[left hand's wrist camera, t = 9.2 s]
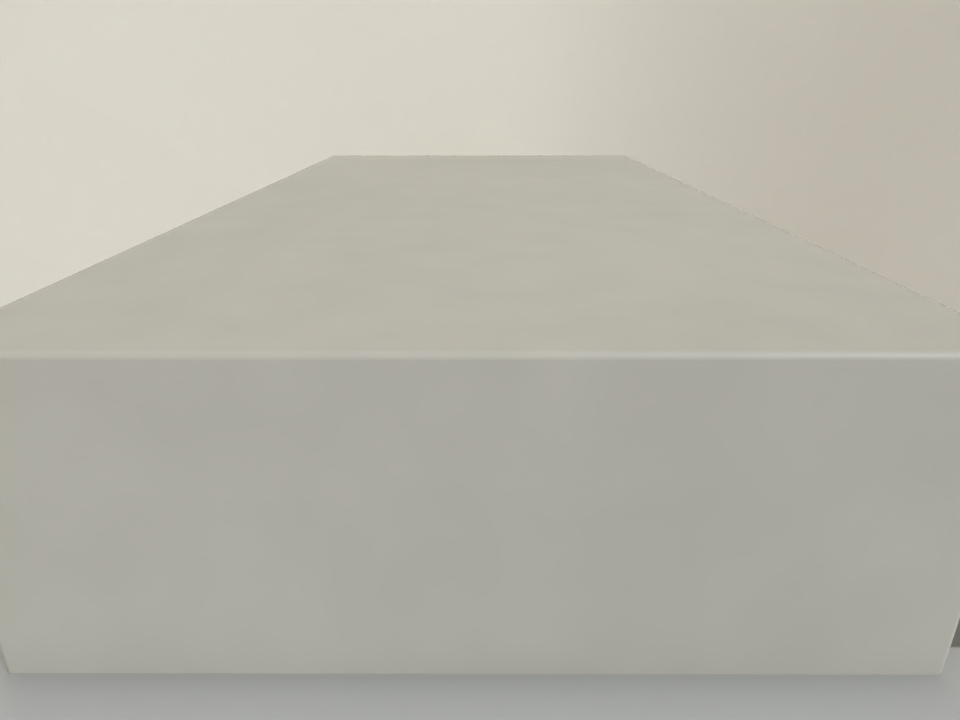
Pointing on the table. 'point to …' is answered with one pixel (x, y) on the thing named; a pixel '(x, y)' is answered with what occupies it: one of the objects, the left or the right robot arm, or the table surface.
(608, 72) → the table surface
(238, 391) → the box
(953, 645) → the left robot arm
